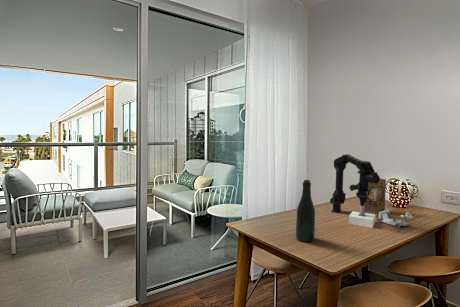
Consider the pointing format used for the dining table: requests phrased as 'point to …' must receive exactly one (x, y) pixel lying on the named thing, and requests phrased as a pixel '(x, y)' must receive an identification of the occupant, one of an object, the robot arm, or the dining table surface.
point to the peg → (362, 211)
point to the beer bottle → (305, 215)
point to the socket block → (362, 219)
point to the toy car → (393, 219)
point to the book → (376, 197)
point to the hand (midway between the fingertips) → (363, 204)
